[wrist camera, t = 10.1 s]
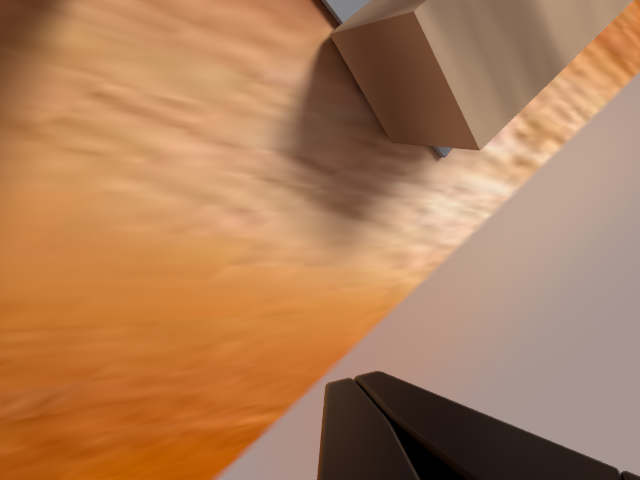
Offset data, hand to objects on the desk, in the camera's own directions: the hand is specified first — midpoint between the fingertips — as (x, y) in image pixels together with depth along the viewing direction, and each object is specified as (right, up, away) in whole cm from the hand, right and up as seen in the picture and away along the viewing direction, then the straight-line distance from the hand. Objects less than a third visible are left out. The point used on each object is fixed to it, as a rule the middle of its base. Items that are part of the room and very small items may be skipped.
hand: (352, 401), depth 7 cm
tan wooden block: (+2, +8, +10) cm, 13 cm away
